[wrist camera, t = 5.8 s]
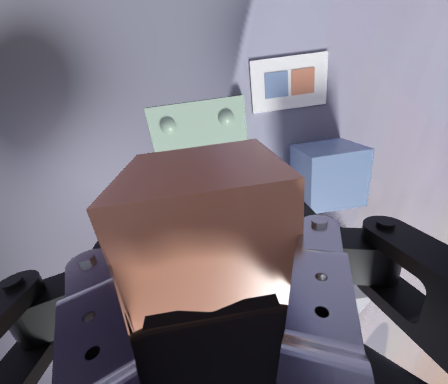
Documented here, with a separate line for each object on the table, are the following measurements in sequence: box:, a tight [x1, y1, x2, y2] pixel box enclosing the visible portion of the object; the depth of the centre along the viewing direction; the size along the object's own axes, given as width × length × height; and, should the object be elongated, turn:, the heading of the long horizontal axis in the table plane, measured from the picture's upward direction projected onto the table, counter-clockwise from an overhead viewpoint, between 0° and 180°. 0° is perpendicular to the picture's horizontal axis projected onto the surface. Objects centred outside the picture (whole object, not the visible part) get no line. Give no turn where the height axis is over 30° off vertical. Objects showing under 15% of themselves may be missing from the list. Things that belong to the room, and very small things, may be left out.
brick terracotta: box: [87, 139, 305, 331], centre depth 11 cm, size 6×6×6 cm
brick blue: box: [290, 138, 374, 214], centre depth 26 cm, size 6×6×6 cm
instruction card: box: [249, 51, 328, 114], centre depth 25 cm, size 8×5×1 cm, turn 97°
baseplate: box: [144, 95, 247, 152], centre depth 26 cm, size 10×10×1 cm
